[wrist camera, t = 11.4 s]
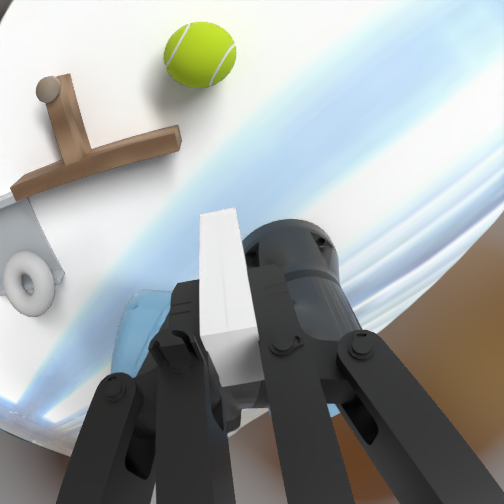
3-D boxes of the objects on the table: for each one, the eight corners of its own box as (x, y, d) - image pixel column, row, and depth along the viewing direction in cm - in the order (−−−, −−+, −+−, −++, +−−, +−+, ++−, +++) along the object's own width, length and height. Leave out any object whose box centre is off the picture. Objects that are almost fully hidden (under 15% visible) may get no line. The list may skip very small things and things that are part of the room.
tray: (64, 273, 43) (59, 283, 41) (2, 287, 42) (-3, 296, 40) (22, 186, 34) (14, 195, 32) (-38, 214, 34) (-46, 222, 32)
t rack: (181, 140, 35) (178, 153, 31) (29, 188, 34) (13, 204, 30) (159, 39, 27) (152, 37, 23) (0, 104, 27) (-20, 114, 23)
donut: (52, 269, 36) (42, 331, 38) (64, 264, 40) (53, 323, 41) (3, 242, 35) (-4, 302, 37) (17, 239, 39) (8, 296, 40)
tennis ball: (157, 70, 29) (146, 74, 24) (187, 16, 26) (182, 7, 21) (214, 94, 32) (215, 103, 26) (245, 41, 29) (253, 38, 23)
